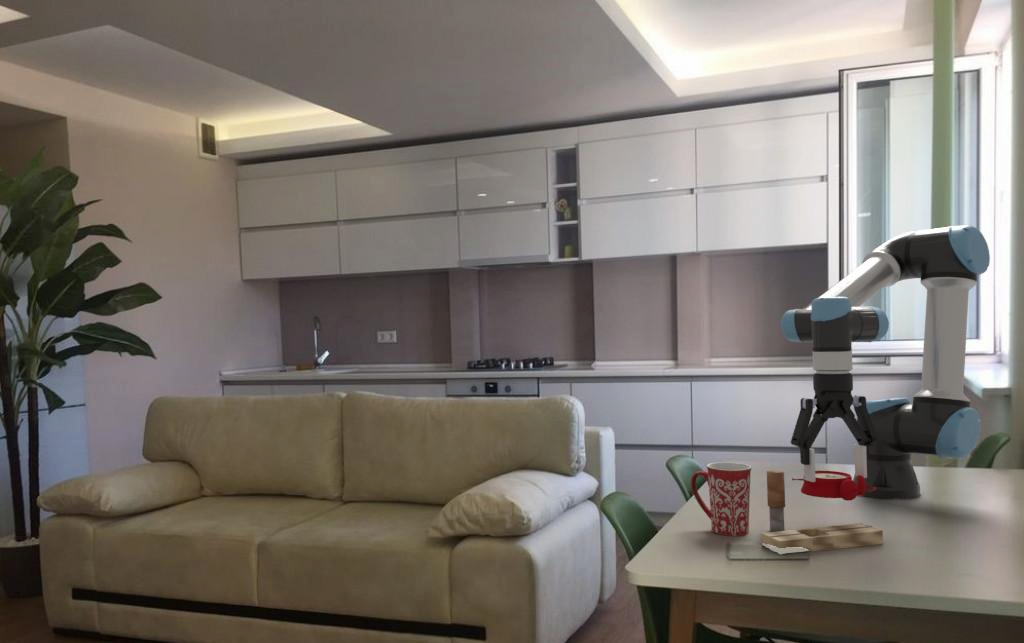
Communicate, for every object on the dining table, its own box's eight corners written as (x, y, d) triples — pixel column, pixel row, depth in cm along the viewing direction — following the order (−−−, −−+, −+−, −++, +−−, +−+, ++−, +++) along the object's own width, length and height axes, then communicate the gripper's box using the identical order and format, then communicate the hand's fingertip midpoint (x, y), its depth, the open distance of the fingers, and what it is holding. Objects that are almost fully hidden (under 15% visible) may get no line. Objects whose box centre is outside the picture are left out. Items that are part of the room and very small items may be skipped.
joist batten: (861, 535, 153) (861, 522, 153) (883, 543, 147) (882, 530, 147) (762, 546, 147) (761, 532, 147) (780, 554, 142) (779, 540, 142)
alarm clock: (808, 469, 168) (877, 461, 157) (815, 498, 167) (886, 491, 156) (786, 476, 160) (857, 468, 150) (793, 507, 159) (865, 500, 149)
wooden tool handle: (779, 527, 160) (778, 469, 161) (789, 531, 157) (787, 472, 157) (765, 529, 160) (763, 471, 160) (774, 533, 156) (772, 473, 156)
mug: (760, 529, 160) (758, 464, 160) (744, 539, 152) (741, 471, 153) (702, 521, 167) (700, 459, 167) (684, 530, 160) (682, 465, 160)
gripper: (869, 369, 165) (872, 471, 165) (770, 373, 159) (773, 479, 159) (895, 370, 158) (898, 478, 157) (792, 375, 152) (795, 486, 152)
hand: (835, 478), depth 158 cm, fingers closed on alarm clock, 11 cm apart
